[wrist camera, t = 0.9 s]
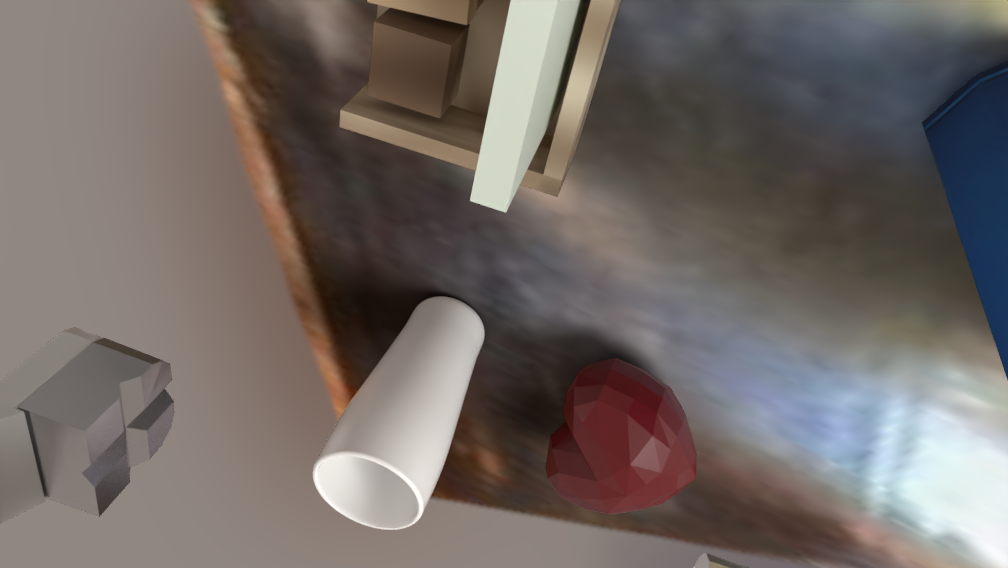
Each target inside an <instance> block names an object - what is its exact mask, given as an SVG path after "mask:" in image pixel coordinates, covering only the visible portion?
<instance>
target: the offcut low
mask: <svg viewBox="0 0 1008 568" xmlns="http://www.w3.org/2000/svg"><path fill="white" fill-rule="evenodd" d="M483 2H484V0H477V9H478V8H479V7H480V6H481V5H482V3H483ZM477 9H476V10H477Z"/></svg>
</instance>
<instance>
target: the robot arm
mask: <svg viewBox="0 0 1008 568" xmlns="http://www.w3.org/2000/svg"><path fill="white" fill-rule="evenodd" d="M171 381H172V374H171V366H170V363H167V362H165V361H163V360H160V359H158V358H155V357H153V356H150V355H147V354H145V353H142V352H140V351H137V350H134V349H132V348H129V347H127V346H124V345H122V344H119V343H116V342H114V341H111V340H109V339H106V338H103V337H100V336H98V335H95V334H92V333H90V332H87V331H84V330H81V329H79V328H76V327H73V328H70V329H67V330H64V331H62V332H60V333H59V334H58V335H57V336H55V337H54V338H53V339H51V340H50V341H49V342H48V343H46V344H45V345H44V346H43V347H42V348H40V349H39V350H38V351H36V352H35V353H34V354H33V355H31V356H30V357H29V358H28V359H26V360H25V361H24V362H23V363H21V364H20V365H19V366H18V367H17V368H15V369H14V370H13V371H11V372H10V373H9V374H8V375H6V376H5V377H4V378H3V379H1V380H0V523H3V522H5V521H7V520H9V519H11V518H13V517H15V516H17V515H19V514H21V513H23V512H25V511H27V510H29V509H31V508H33V507H35V506H37V505H39V504H41V503H43V502H45V498H47V499H50V500H53V501H56V502H59V503H61V504H64V505H67V506H70V507H73V508H76V509H79V510H81V511H84V512H87V513H90V514H93V515H96V516H99V517H100V515H102V513H103V512H104V511H105V510H106V509H107V508H108V507H109V505H110V504H111V503H112V502H113V501H114V500H115V498H116V497H117V496H118V495H119V494H120V493H121V492H122V491H123V490H124V489H125V487H126V486H127V485H128V484H129V483H130V467H133V466H135V465H137V464H140V463H143V462H145V461H148V460H150V459H151V458H152V456H153V455H154V454H155V453H156V452H157V451H158V449H159V448H160V447H161V446H162V444H163V442H164V440H165V438H166V436H167V434H168V433H169V430H170V429H171V426H172V422H173V417H174V401H173V400H172V398H171V397H170V395H169V394H168V393H167V391H166V390H165V387H166V386H167V385H168V384H169V383H170V382H171ZM693 568H749V567H745V566H743V565H740V564H737V563H734V562H731V561H728V560H725V559H722V558H719V557H716V556H713V555H710V554H708V553H705V554H703V555H702V556H700V558H699V559H698V561H697V562H696V564H695V565H694V567H693Z"/></svg>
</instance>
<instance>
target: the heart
mask: <svg viewBox="0 0 1008 568" xmlns="http://www.w3.org/2000/svg"><path fill="white" fill-rule="evenodd" d="M564 417H565V419H566V422H565V423H564V424H563V425H562V426H561V427H559V428H558V429H557V430H556V431H555V432H554V433H553V434H552V435H551V437H550V443H549V449H548V455H547V461H546V472H547V477H548V479H549V481H550V482H551V484H552V485H553V487H554V488H555V490H556V491H557V493H558V494H559V496H561V497H563V498H565V499H567V500H569V501H570V502H572V503H574V504H576V505H578V506H580V507H582V508H584V509H587V510H592V511H597V512H602V513H607V514H619V513H624V512H630V511H636V510H641V509H644V508H647V507H651V506H654V505H658V504H661V503H664V502H665V501H667V500H668V499H670V498H671V497H673V496H674V495H676V494H677V493H678V492H679V491H681V490H682V489H683V488H684V487H685V486H687V485H688V484H689V483H690V482H691V481H693V480H694V479H695V478H696V450H695V446H694V442H693V438H692V435H691V432H690V428H689V425H688V422H687V418H686V415H685V412H684V410H683V409H682V407H681V405H680V403H679V402H678V400H677V398H676V396H675V395H674V393H673V391H672V389H671V388H670V387H669V386H667V385H666V384H664V383H663V382H661V381H660V380H658V379H657V378H656V377H654V376H653V375H651V374H650V373H648V372H647V371H645V370H643V369H641V368H639V367H636V366H634V365H631V364H629V363H627V362H624V361H622V360H620V359H617V358H614V359H608V360H603V361H598V362H594V363H591V364H588V365H586V366H584V367H583V368H582V369H581V370H580V371H579V372H578V374H577V376H576V377H575V379H574V381H573V382H572V384H571V386H570V387H569V389H568V391H567V392H566V394H565V406H564Z"/></svg>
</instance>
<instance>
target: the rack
mask: <svg viewBox="0 0 1008 568" xmlns="http://www.w3.org/2000/svg"><path fill="white" fill-rule="evenodd" d="M510 1H511V0H484V2H483V3H482V5H481V6H480V7H479V8H478V9H477V10H476V15H475V16H474V17H473V19H472V20H471V21H470V22H469V23H468V24H470V26H469V32H468V38H467V43H466V49H465V55H464V61H463V67H462V72H461V78H460V84H459V90H458V95H457V96H456V98H455V99H454V100H453V102H452V103H451V104H450V106H449V107H448V108H447V110H446V111H445V112H444V114H443V115H442V116H441V118H437V117H434V116H430V115H427V114H424V113H421V112H418V111H415V110H412V109H408V108H405V107H402V106H399V105H396V104H393V103H389V102H386V101H383V100H380V99H377V98H374V97H371V96H367V94H368V83H369V82H368V83H367V84H366V85H365V86H364V87H363V88H362V89H361V90H360V91H359V92H358V93H357V94H356V95H355V96H354V97H353V98H352V99H351V100H350V101H349V102H348V103H347V104H346V105H345V106H344V107H343V108H342V109H341V111H340V127H342V128H345V129H348V130H351V131H354V132H357V133H360V134H364V135H367V136H370V137H373V138H376V139H379V140H382V141H385V142H388V143H392V144H395V145H398V146H401V147H404V148H407V149H410V150H413V151H416V152H420V153H423V154H426V155H429V156H432V157H435V158H438V159H441V160H444V161H448V162H451V163H454V164H457V165H460V166H463V167H466V168H469V169H472V170H476V168H477V163H478V159H479V154H480V149H481V144H482V139H483V134H484V129H485V124H486V119H487V114H488V109H489V104H490V100H491V95H492V90H493V85H494V80H495V75H496V70H497V65H498V60H499V55H500V50H501V46H502V41H503V36H504V31H505V26H506V21H507V16H508V11H509V6H510ZM620 2H621V0H587V3H586V7H585V11H584V15H583V18H582V22H581V26H580V29H579V33H578V37H577V41H576V44H575V48H574V52H573V55H572V59H571V63H570V66H569V70H568V74H567V78H566V81H565V85H564V89H563V92H562V96H561V100H560V103H559V106H558V108H557V110H556V112H555V114H554V116H553V118H552V120H551V122H550V124H549V126H548V128H547V130H546V132H545V134H544V136H543V138H542V140H541V142H540V144H539V146H538V148H537V150H536V152H535V154H534V156H533V158H532V160H531V163H530V165H529V167H528V169H527V171H526V173H525V175H524V177H523V179H522V181H521V183H520V185H522V186H525V187H528V188H532V189H535V190H538V191H541V192H544V193H547V194H550V195H553V196H556V197H558V194H559V192H560V189H561V187H562V184H563V182H564V179H565V177H566V174H567V172H568V169H569V167H570V164H571V162H572V160H573V157H574V155H575V152H576V150H577V146H578V143H579V140H580V136H581V133H582V130H583V126H584V123H585V120H586V116H587V113H588V109H589V106H590V103H591V99H592V96H593V93H594V89H595V86H596V83H597V79H598V76H599V73H600V69H601V66H602V63H603V59H604V56H605V53H606V49H607V46H608V42H609V39H610V36H611V32H612V29H613V26H614V22H615V19H616V16H617V12H618V9H619V6H620ZM389 8H390V7H386V6H382V5H378V6H377V17H376V19H377V18H378V17H380V16H381V15H382V14H383V13H384V12H385V11H387V10H388V9H389Z"/></svg>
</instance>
